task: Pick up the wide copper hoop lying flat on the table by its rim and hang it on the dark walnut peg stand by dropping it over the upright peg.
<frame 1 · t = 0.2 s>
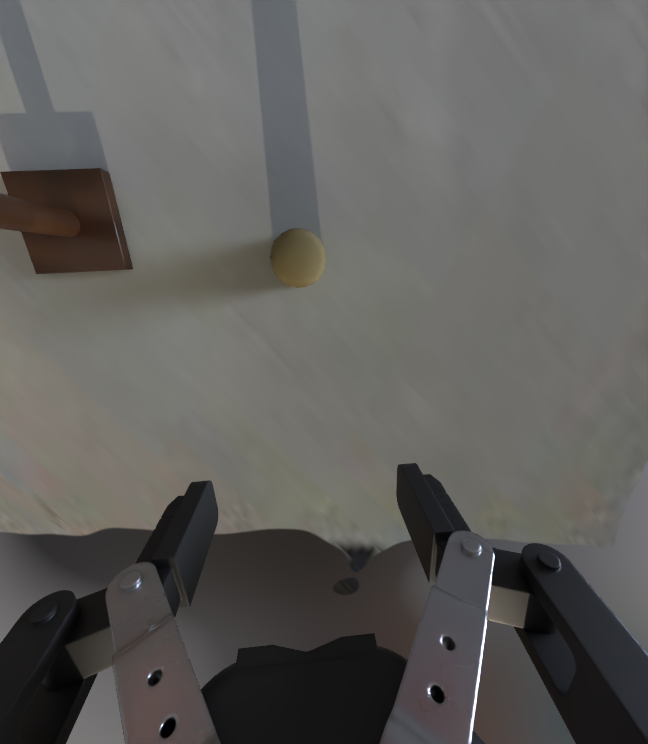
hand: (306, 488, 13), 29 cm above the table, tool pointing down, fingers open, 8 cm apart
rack: (76, 225, 34), on the table
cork: (299, 260, 37), on the table
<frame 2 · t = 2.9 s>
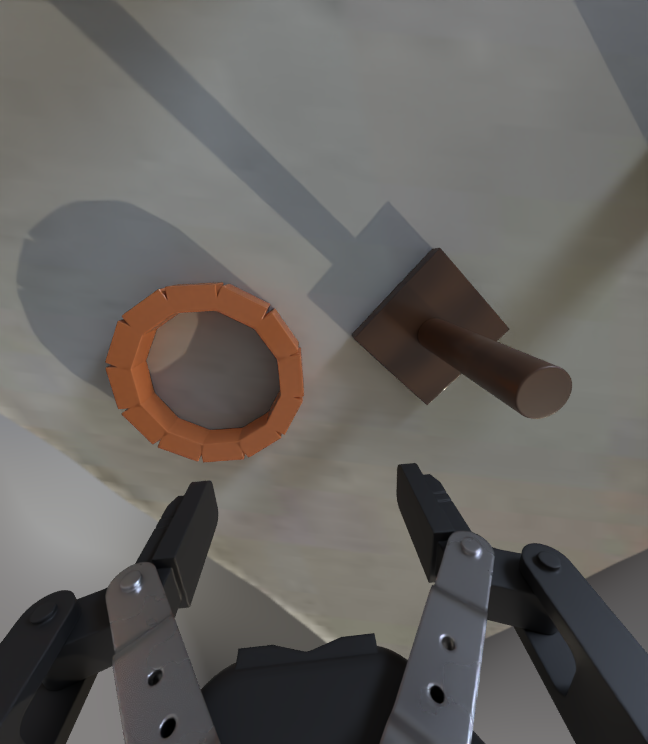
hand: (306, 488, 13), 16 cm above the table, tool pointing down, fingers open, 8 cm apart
hoop: (216, 372, 28), on the table
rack: (426, 330, 28), on the table
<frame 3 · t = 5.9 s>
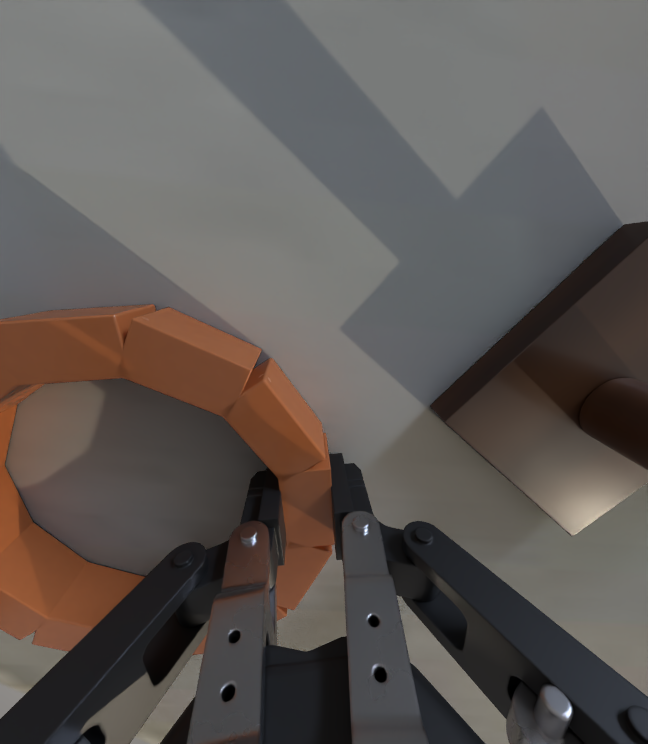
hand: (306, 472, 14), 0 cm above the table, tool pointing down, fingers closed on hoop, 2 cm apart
hoop: (155, 482, 14), on the table, touching gripper
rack: (579, 393, 14), on the table
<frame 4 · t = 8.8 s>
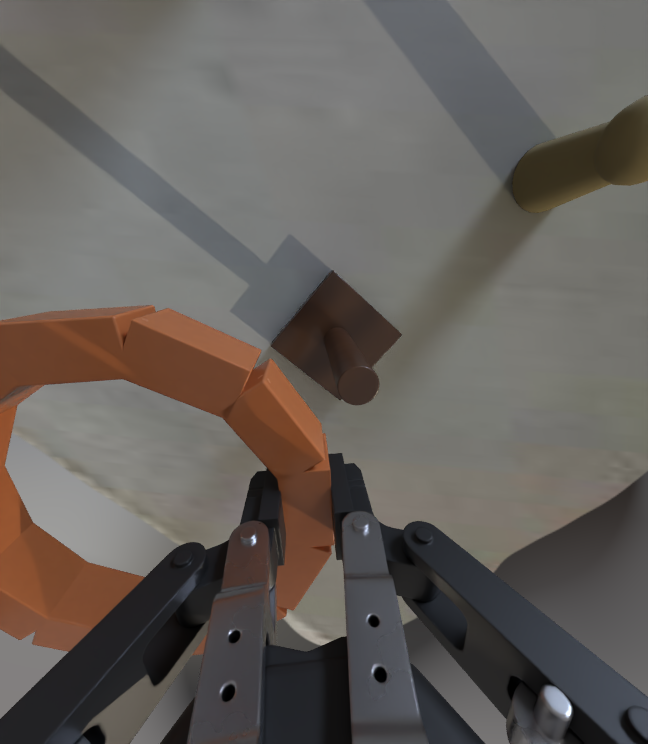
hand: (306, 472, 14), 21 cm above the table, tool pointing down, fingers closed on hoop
hoop: (155, 482, 14), point 21 cm above the table, touching gripper
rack: (335, 337, 33), on the table
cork: (540, 179, 30), on the table
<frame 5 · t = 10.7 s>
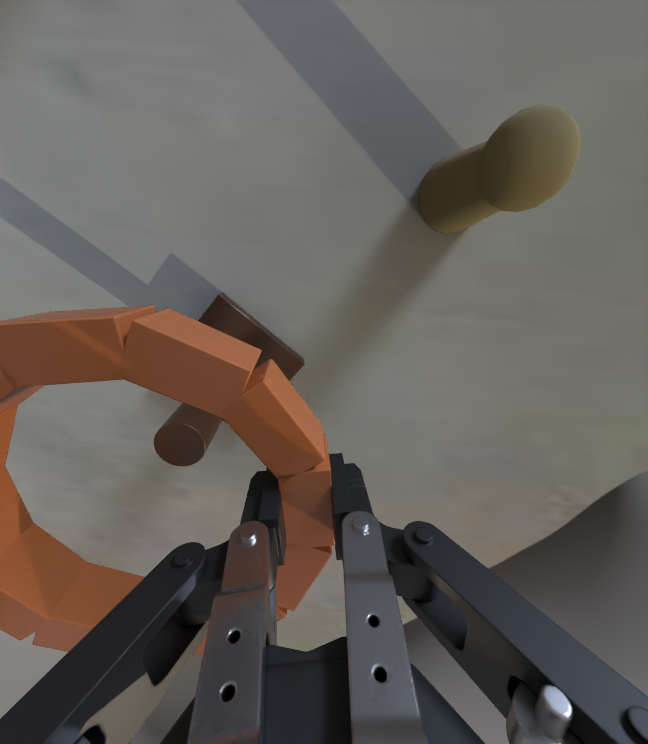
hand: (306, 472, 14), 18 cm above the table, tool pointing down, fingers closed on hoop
hoop: (155, 483, 14), point 18 cm above the table, touching gripper
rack: (234, 364, 30), on the table
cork: (451, 196, 27), on the table
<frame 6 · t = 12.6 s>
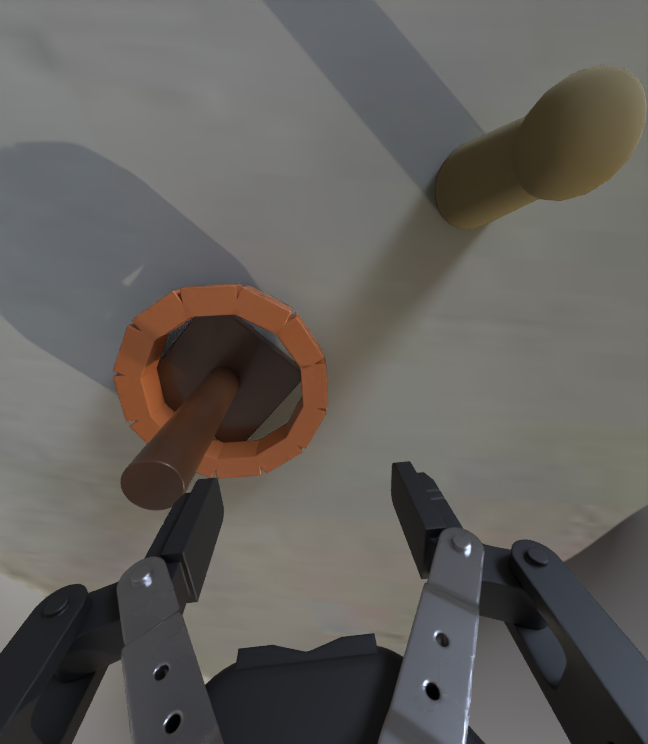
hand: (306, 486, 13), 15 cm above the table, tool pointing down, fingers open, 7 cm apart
hoop: (232, 380, 26), point 1 cm above the table, touching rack
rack: (227, 376, 27), on the table
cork: (471, 187, 24), on the table
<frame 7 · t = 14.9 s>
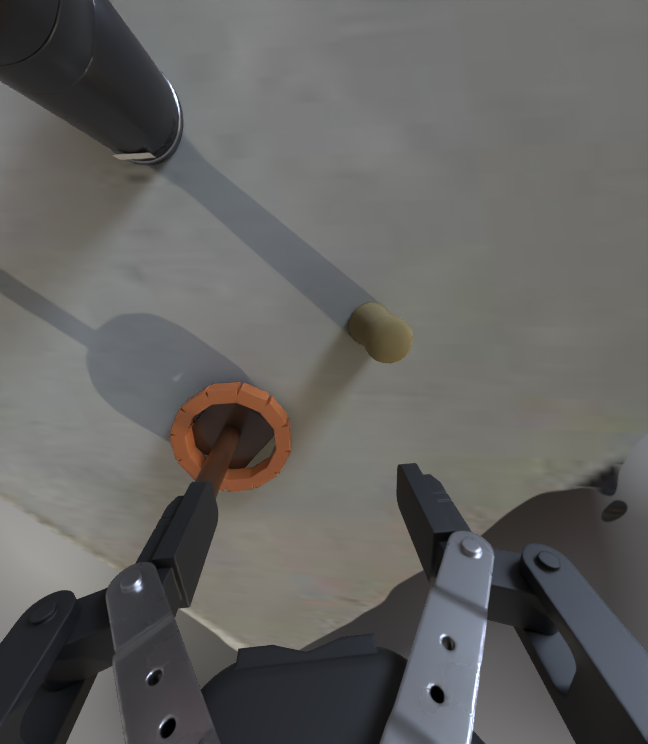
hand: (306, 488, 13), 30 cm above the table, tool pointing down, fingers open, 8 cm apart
hoop: (235, 433, 44), point 1 cm above the table, touching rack
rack: (232, 429, 45), on the table
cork: (370, 324, 41), on the table
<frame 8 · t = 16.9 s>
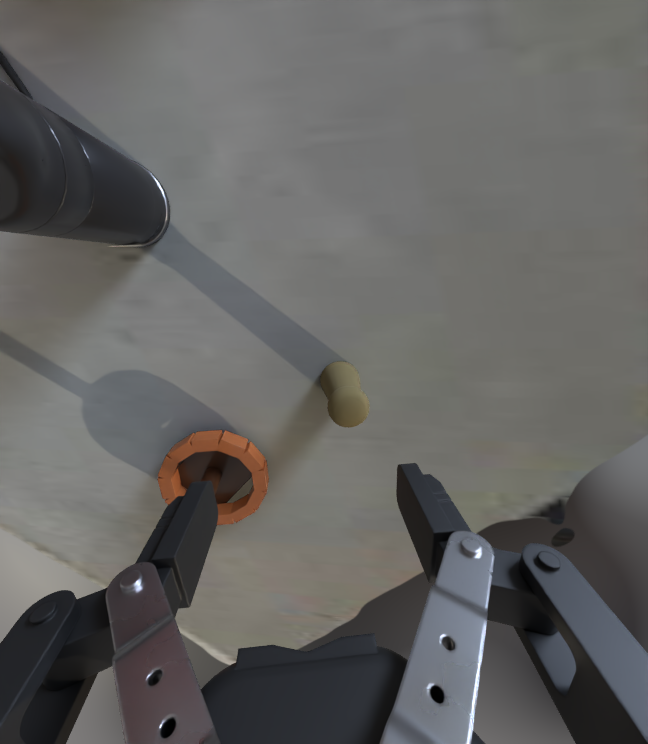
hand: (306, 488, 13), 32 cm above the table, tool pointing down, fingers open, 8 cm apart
hoop: (217, 473, 48), point 1 cm above the table, touching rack
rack: (215, 468, 50), on the table
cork: (339, 379, 46), on the table
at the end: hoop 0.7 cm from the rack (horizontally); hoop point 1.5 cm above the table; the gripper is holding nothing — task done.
